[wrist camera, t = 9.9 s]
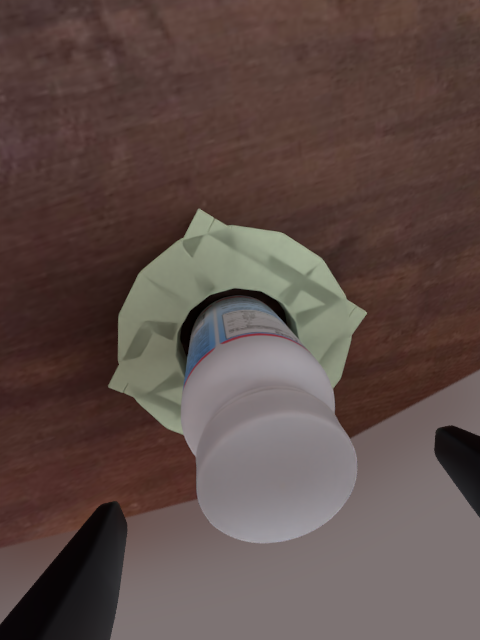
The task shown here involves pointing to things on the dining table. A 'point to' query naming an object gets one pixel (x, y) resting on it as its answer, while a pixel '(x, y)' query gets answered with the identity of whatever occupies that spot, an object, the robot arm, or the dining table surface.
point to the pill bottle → (262, 426)
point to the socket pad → (217, 276)
